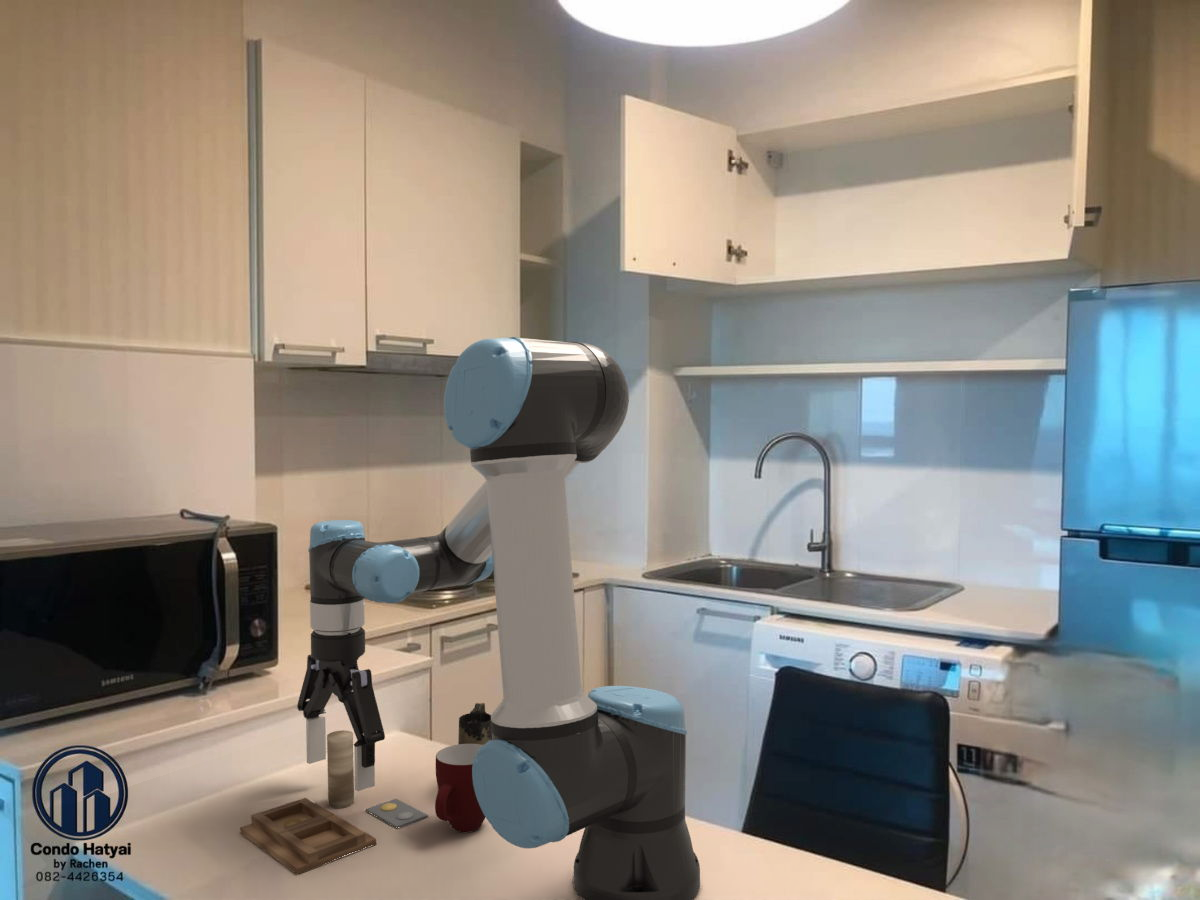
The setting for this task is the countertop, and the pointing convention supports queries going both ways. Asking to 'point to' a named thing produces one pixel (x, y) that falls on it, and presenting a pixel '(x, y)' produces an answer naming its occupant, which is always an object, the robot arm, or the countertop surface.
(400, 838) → the countertop surface
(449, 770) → the mug
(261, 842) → the board
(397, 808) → the key tile
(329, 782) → the peg
